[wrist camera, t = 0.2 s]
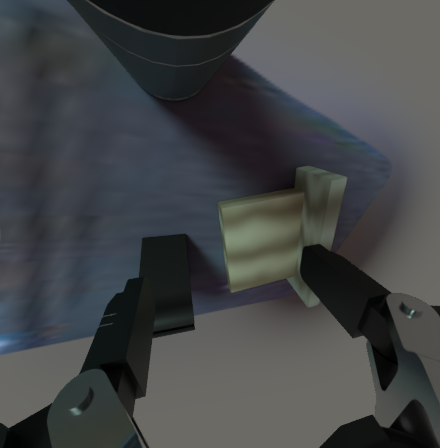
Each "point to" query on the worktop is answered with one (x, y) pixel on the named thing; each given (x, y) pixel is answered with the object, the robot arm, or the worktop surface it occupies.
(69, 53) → the worktop surface
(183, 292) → the phone stand
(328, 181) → the wall board
